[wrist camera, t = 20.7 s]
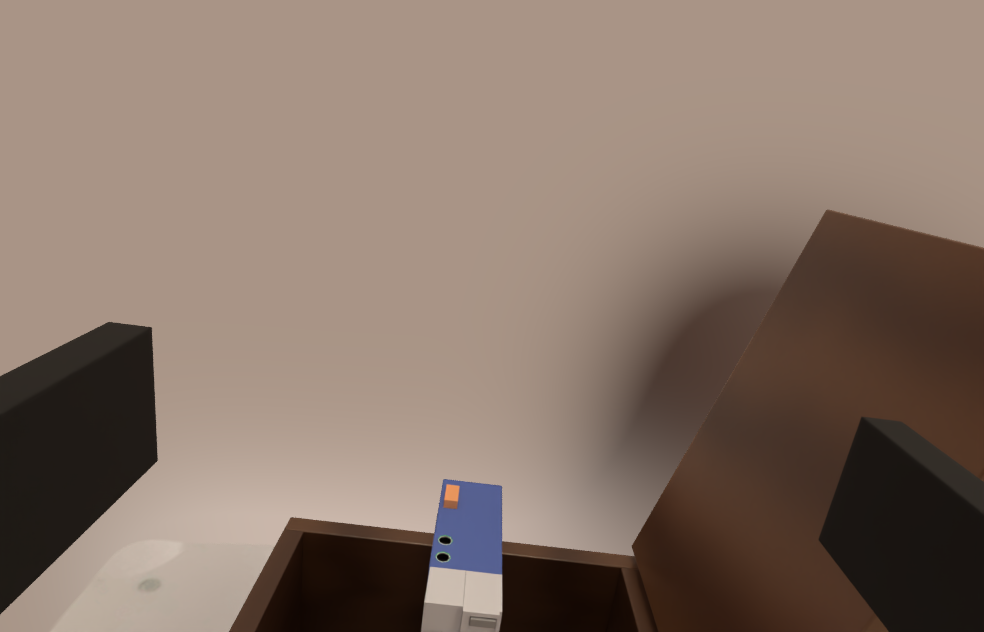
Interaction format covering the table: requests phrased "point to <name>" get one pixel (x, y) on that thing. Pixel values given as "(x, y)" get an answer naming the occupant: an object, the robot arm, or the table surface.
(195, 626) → the table surface
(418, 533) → the chest
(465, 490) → the walkman
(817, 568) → the chest lid
